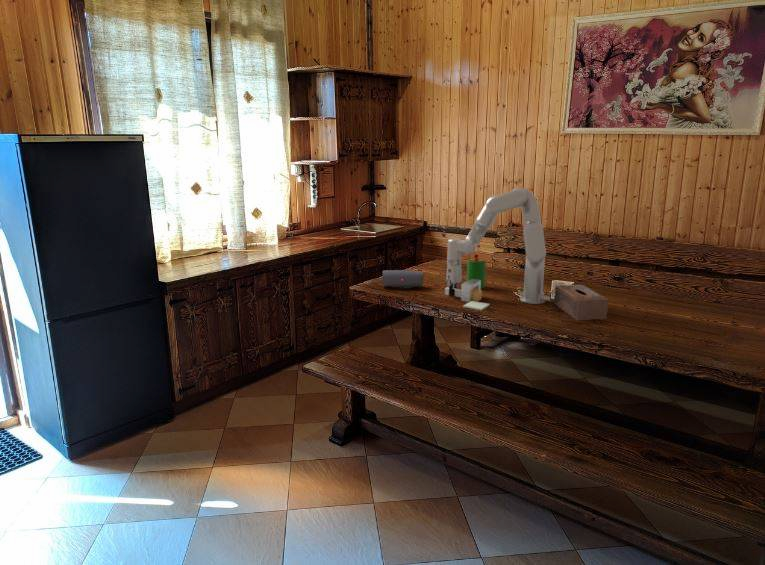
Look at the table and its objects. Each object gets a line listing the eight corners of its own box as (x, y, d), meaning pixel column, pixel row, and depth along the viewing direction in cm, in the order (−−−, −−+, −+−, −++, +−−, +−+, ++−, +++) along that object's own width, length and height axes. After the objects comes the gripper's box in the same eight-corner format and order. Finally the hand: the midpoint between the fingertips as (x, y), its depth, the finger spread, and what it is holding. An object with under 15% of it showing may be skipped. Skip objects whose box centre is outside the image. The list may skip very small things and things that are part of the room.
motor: (484, 285, 315) (485, 251, 310) (485, 289, 307) (487, 254, 301) (466, 284, 316) (467, 250, 311) (467, 289, 308) (468, 254, 302)
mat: (489, 305, 278) (489, 304, 277) (481, 310, 270) (481, 309, 269) (471, 302, 283) (471, 300, 283) (463, 307, 275) (463, 305, 275)
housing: (480, 296, 294) (481, 280, 291) (469, 302, 283) (470, 285, 281) (471, 294, 296) (472, 278, 294) (460, 300, 286) (461, 283, 284)
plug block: (481, 299, 289) (482, 290, 287) (477, 301, 285) (477, 292, 283) (472, 297, 291) (473, 288, 290) (468, 299, 287) (469, 290, 286)
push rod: (472, 298, 291) (472, 291, 290) (470, 299, 289) (470, 292, 288) (447, 293, 299) (447, 287, 298) (444, 294, 297) (445, 288, 296)
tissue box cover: (606, 319, 257) (608, 299, 254) (576, 320, 255) (578, 300, 253) (580, 303, 282) (582, 284, 279) (554, 304, 280) (555, 285, 277)
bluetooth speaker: (381, 289, 308) (381, 271, 305) (383, 284, 317) (383, 268, 314) (422, 290, 305) (422, 273, 303) (423, 285, 314) (423, 269, 312)
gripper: (453, 265, 282) (452, 299, 287) (467, 259, 295) (466, 292, 300) (440, 263, 286) (439, 297, 291) (454, 258, 299) (453, 290, 304)
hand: (453, 294), depth 295 cm, fingers closed on push rod, 2 cm apart
